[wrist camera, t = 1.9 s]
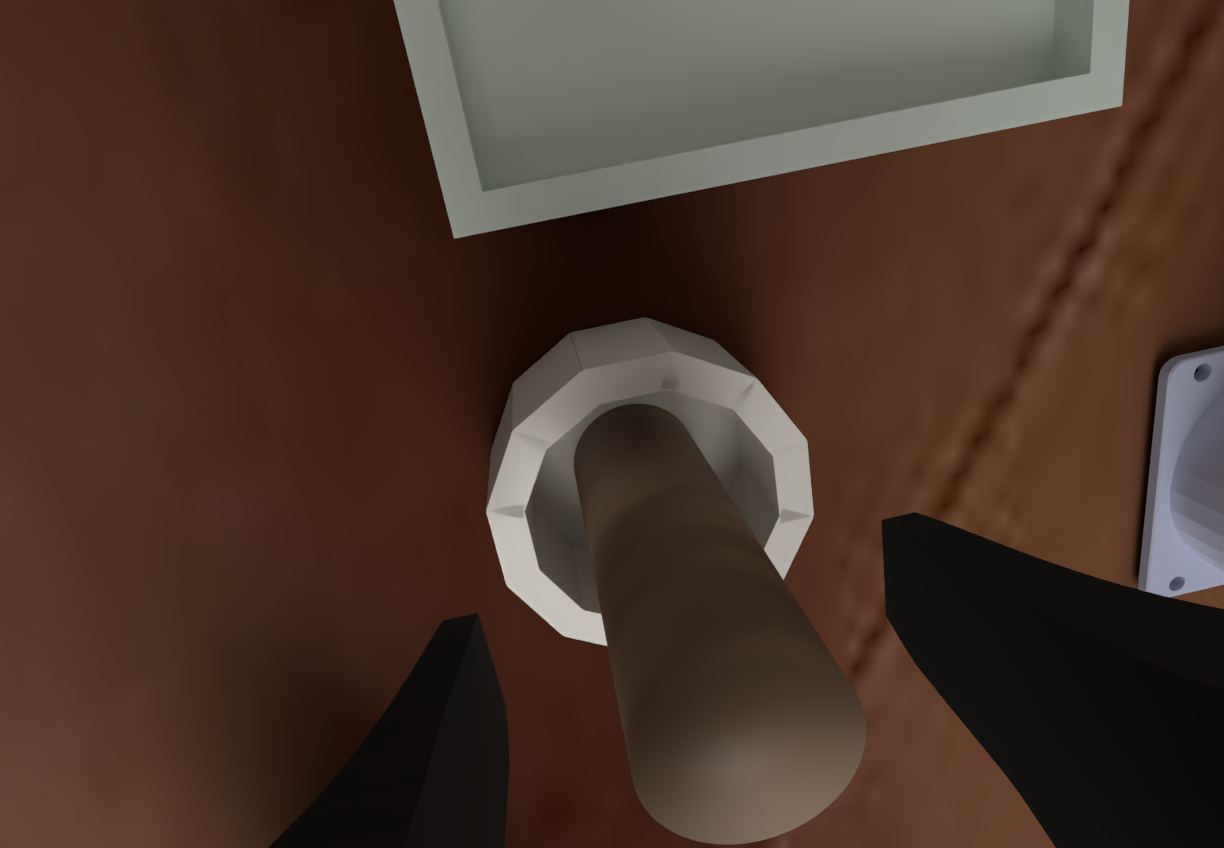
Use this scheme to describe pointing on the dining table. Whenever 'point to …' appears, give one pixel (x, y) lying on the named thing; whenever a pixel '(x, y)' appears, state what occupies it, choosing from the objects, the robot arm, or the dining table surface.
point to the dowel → (707, 643)
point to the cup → (605, 379)
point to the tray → (727, 89)
